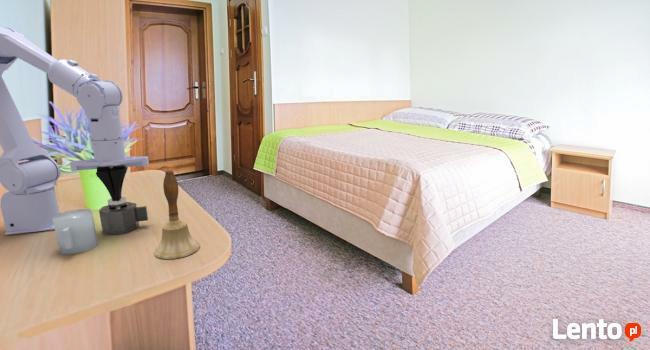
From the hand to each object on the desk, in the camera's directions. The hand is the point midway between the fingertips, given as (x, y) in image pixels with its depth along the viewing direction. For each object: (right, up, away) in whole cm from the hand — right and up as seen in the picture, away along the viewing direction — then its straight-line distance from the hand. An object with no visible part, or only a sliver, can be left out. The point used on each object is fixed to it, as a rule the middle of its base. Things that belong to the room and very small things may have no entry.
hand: (117, 199), depth 78 cm
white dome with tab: (-3, -9, -7) cm, 12 cm away
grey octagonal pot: (+1, -7, +2) cm, 7 cm away
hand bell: (+17, -9, -9) cm, 22 cm away
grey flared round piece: (0, -6, +2) cm, 6 cm away
